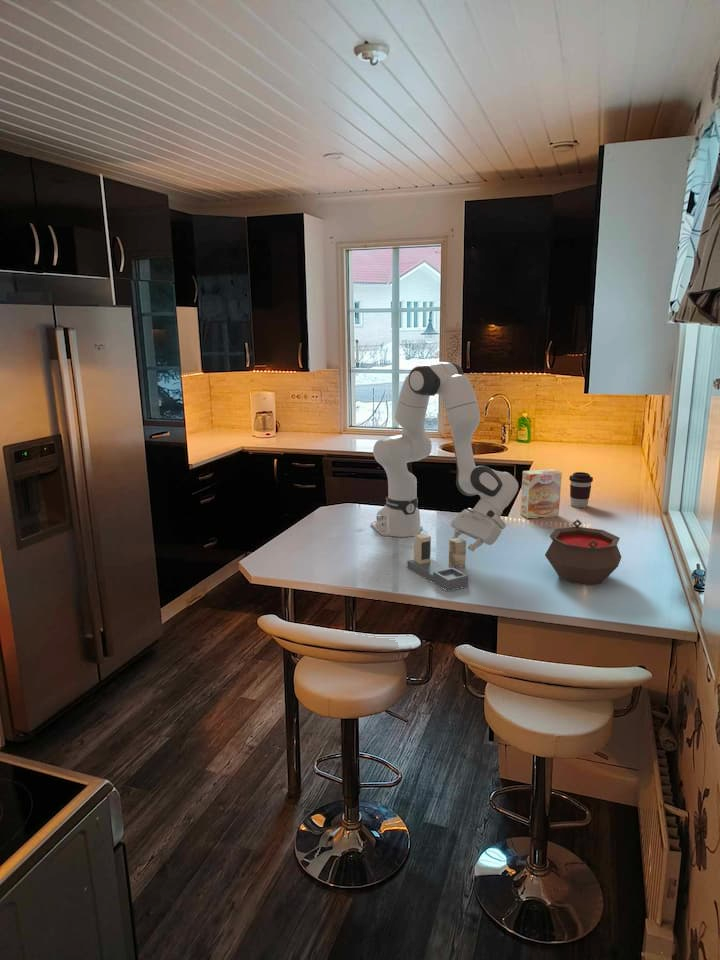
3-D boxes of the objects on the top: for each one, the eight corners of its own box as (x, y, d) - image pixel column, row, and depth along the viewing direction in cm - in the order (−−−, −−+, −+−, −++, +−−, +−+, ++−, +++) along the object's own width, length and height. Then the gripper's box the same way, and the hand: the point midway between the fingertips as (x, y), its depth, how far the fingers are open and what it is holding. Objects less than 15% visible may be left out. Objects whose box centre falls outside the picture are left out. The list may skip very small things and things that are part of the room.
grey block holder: (407, 567, 216) (407, 535, 213) (426, 563, 219) (427, 531, 217) (447, 591, 196) (448, 556, 193) (468, 586, 200) (469, 551, 197)
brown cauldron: (537, 562, 220) (540, 517, 216) (609, 564, 217) (613, 518, 213) (550, 590, 196) (553, 540, 193) (631, 593, 194) (636, 542, 190)
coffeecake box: (527, 519, 268) (530, 474, 264) (519, 514, 275) (521, 470, 270) (559, 516, 272) (562, 472, 267) (550, 512, 278) (553, 468, 274)
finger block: (448, 564, 218) (449, 539, 216) (457, 562, 220) (458, 537, 218) (455, 568, 215) (456, 542, 213) (465, 566, 217) (466, 541, 215)
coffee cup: (564, 506, 286) (566, 474, 283) (571, 501, 294) (573, 470, 290) (587, 510, 281) (589, 477, 277) (593, 505, 288) (595, 472, 285)
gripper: (461, 501, 226) (438, 532, 224) (500, 516, 209) (475, 549, 206) (471, 512, 229) (448, 542, 227) (509, 527, 212) (485, 560, 209)
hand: (461, 545), depth 217 cm, fingers open, 8 cm apart
